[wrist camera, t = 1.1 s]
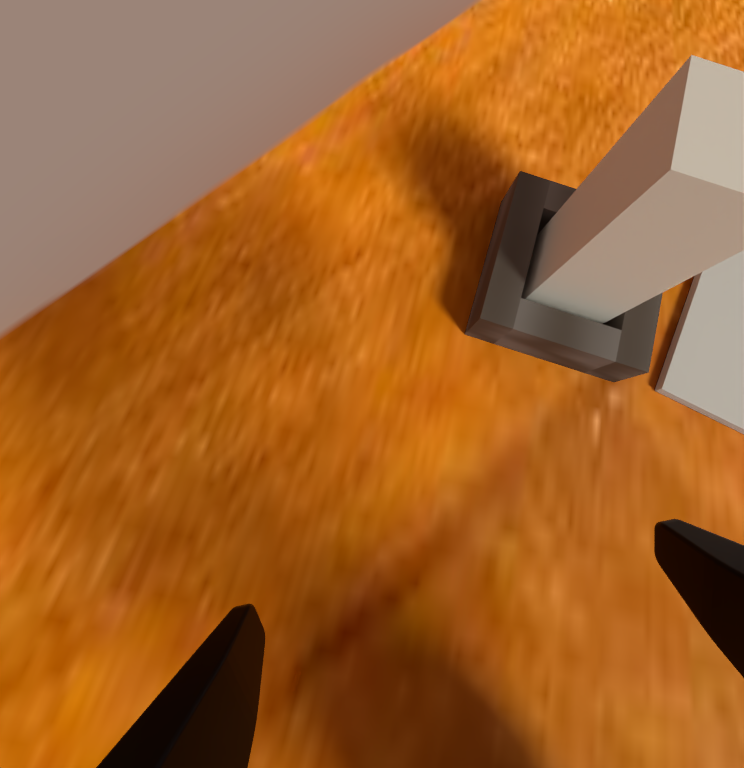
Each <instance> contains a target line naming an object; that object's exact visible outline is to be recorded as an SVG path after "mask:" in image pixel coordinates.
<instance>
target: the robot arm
mask: <svg viewBox="0 0 744 768" xmlns="http://www.w3.org/2000/svg"><path fill="white" fill-rule="evenodd" d="M655 557H656V559H657V561H658V563H659V565H660V566H661V568H662V569H663V571H664V572H665V574H666V575H667V577H668V578H669V579H670V581H671V582H672V584H673V585H674V587H675V588H676V589H677V591H678V592H679V594H680V595H681V597H682V598H683V599H684V601H685V602H686V604H687V605H688V607H689V608H690V610H691V611H692V612H693V614H694V615H695V617H696V618H697V620H698V621H699V622H700V624H701V625H702V627H703V628H704V629H705V631H706V632H707V633H708V635H709V636H710V637H711V639H712V640H713V641H714V642H715V644H716V645H717V646H718V647H719V649H720V650H721V651H722V652H723V653H724V655H725V656H726V657H727V658H728V659H729V661H730V662H731V663H732V664H733V665H734V667H735V668H736V669H737V670H738V671H739V673H740V674H741V675H742V676H743V678H744V545H741V544H739V543H736V542H734V541H731V540H729V539H726V538H724V537H721V536H719V535H716V534H714V533H711V532H709V531H706V530H704V529H701V528H699V527H696V526H694V525H691V524H689V523H686V522H684V521H681V520H678V519H672V520H667V521H662V522H658V523H657V524H656V525H655ZM264 647H265V632H264V628H263V626H262V623H261V621H260V619H259V616H258V614H257V612H256V609H255V607H254V606H253V605H252V604H246V605H241V606H236V607H234V608H233V609H232V610H231V611H230V612H229V613H228V614H227V615H226V617H225V618H224V619H223V620H222V621H221V622H220V624H219V625H218V626H217V627H216V628H215V629H214V631H213V632H212V633H211V634H210V635H209V636H208V638H207V639H206V640H205V641H204V642H203V643H202V645H201V646H200V647H199V648H198V649H197V650H196V652H195V653H194V654H193V655H192V656H191V657H190V659H189V660H188V661H187V662H186V663H185V664H184V666H183V667H182V668H181V669H180V670H179V672H178V673H177V674H176V675H175V676H174V677H173V679H172V680H171V681H170V682H169V683H168V684H167V686H166V687H165V688H164V689H163V690H162V691H161V693H160V694H159V695H158V696H157V697H156V698H155V700H154V701H153V702H152V703H151V704H150V705H149V707H148V708H147V709H146V710H145V711H144V712H143V714H142V715H141V716H140V717H139V718H138V719H137V721H136V722H135V723H134V724H133V725H132V726H131V728H130V729H129V730H128V731H127V732H126V733H125V735H124V736H123V737H122V738H121V739H120V741H119V742H118V743H117V744H116V745H115V746H114V748H113V749H112V750H111V751H110V752H109V753H108V755H107V756H106V757H105V758H104V759H103V760H102V762H101V763H100V764H99V765H98V766H97V767H96V768H247V767H248V762H249V757H250V752H251V747H252V742H253V737H254V731H255V726H256V720H257V712H258V704H259V694H260V685H261V675H262V666H263V656H264Z"/></svg>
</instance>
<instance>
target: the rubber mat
mask: <svg viewBox="0 0 744 768" xmlns="http://www.w3.org/2000/svg"><path fill="white" fill-rule="evenodd" d="M655 391H657V392H659V393H661V394H663V395H665V396H667V397H669V398H671V399H673V400H675V401H677V402H679V403H681V404H683V405H685V406H687V407H689V408H691V409H693V410H695V411H697V412H699V413H701V414H703V415H705V416H708V417H710V418H712V419H714V420H716V421H718V422H720V423H722V424H724V425H726V426H728V427H730V428H732V429H734V430H736V431H738V432H740V433H742V434H744V250H743V251H741V252H739V253H737V254H735V255H733V256H731V257H730V258H728V259H726V260H724V261H722V262H720V263H718V264H716V265H714V266H712V267H710V268H708V269H707V270H705V271H703V272H701V273H699V274H697V275H695V276H694V279H693V282H692V285H691V288H690V290H689V293H688V296H687V299H686V302H685V305H684V308H683V310H682V313H681V316H680V319H679V322H678V325H677V328H676V331H675V333H674V336H673V339H672V342H671V345H670V348H669V351H668V353H667V356H666V359H665V362H664V365H663V368H662V371H661V374H660V376H659V379H658V382H657V385H656V388H655Z"/></svg>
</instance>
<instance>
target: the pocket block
mask: <svg viewBox="0 0 744 768" xmlns="http://www.w3.org/2000/svg"><path fill="white" fill-rule="evenodd" d="M575 191H576V189H574V188H571V187H568V186H565V185H562V184H559V183H556V182H553V181H550V180H546V179H543V178H540V177H537V176H534V175H531V174H528V173H525V172H522V171H520V172H519V174H518V175H517V177H516V179H515V180H514V182H513V184H512V185H511V187H510V189H509V190H508V192H507V193H506V195H505V197H504V198H503V200H502V202H501V205H500V209H499V213H498V216H497V220H496V223H495V227H494V231H493V234H492V238H491V241H490V245H489V249H488V252H487V256H486V259H485V263H484V266H483V270H482V274H481V277H480V281H479V284H478V288H477V292H476V295H475V299H474V302H473V306H472V310H471V313H470V317H469V320H468V324H467V328H466V331H465V335H468V336H471V337H475V338H478V339H481V340H484V341H487V342H490V343H493V344H496V345H500V346H503V347H506V348H509V349H512V350H515V351H518V352H521V353H524V354H528V355H531V356H534V357H537V358H540V359H543V360H546V361H549V362H552V363H556V364H559V365H562V366H565V367H568V368H571V369H574V370H577V371H580V372H584V373H587V374H590V375H593V376H596V377H599V378H602V379H605V380H609V381H612V382H616V381H620V380H623V379H627V378H630V377H634V376H638V375H641V374H645V373H648V372H649V367H650V361H651V356H652V350H653V344H654V339H655V333H656V327H657V322H658V316H659V310H660V304H661V299H662V293H663V292H662V293H661V294H659V295H657V296H655V297H653V298H651V299H649V300H647V301H645V302H643V303H641V304H639V305H637V306H636V307H634V308H632V309H630V310H628V311H626V312H624V313H622V314H620V315H618V316H616V317H614V318H613V319H611V320H609V321H607V322H605V323H603V324H601V323H598V322H594V321H591V320H588V319H585V318H582V317H579V316H576V315H573V314H570V313H566V312H563V311H560V310H557V309H554V308H551V307H548V306H545V305H542V304H538V303H535V302H532V301H529V300H526V299H523V298H521V296H522V292H523V288H524V284H525V280H526V276H527V272H528V268H529V264H530V260H531V256H532V252H533V248H534V244H535V240H536V236H537V235H538V234H539V233H540V231H541V230H542V229H543V228H544V227H545V226H546V224H547V223H548V222H549V221H550V220H551V219H552V217H553V216H554V215H555V214H556V213H557V212H558V210H559V209H560V208H561V207H562V206H563V205H564V203H565V202H566V201H567V200H568V199H569V198H570V196H571V195H572V194H573V193H574V192H575Z"/></svg>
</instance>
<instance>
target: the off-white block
mask: <svg viewBox="0 0 744 768" xmlns="http://www.w3.org/2000/svg"><path fill="white" fill-rule="evenodd" d="M743 250H744V72H742V71H739V70H736V69H733V68H730V67H727V66H724V65H721V64H718V63H715V62H712V61H709V60H705V59H702V58H699V57H696V56H693V55H691V56H690V57H689V59H688V60H687V61H686V62H685V63H684V64H683V66H682V67H681V68H680V69H679V70H678V71H677V73H676V74H675V75H674V76H673V77H672V78H671V80H670V81H669V82H668V83H667V84H666V85H665V87H664V88H663V89H662V90H661V91H660V92H659V94H658V95H657V96H656V97H655V98H654V99H653V101H652V102H651V103H650V104H649V105H648V106H647V108H646V109H645V110H644V111H643V112H642V113H641V115H640V116H639V117H638V118H637V119H636V120H635V122H634V123H633V124H632V125H631V126H630V127H629V129H628V130H627V131H626V132H625V133H624V134H623V136H622V137H621V138H620V139H619V140H618V141H617V143H616V144H615V145H614V146H613V147H612V149H611V150H610V151H609V152H608V153H607V154H606V156H605V157H604V158H603V159H602V160H601V161H600V163H599V164H598V165H597V166H596V167H595V168H594V170H593V171H592V172H591V173H590V174H589V175H588V177H587V178H586V179H585V180H584V181H583V182H582V184H581V185H580V186H579V187H578V188H577V189H576V191H575V192H574V193H573V194H572V195H571V196H570V198H569V199H568V200H567V201H566V202H565V203H564V205H563V206H562V207H561V208H560V209H559V210H558V212H557V213H556V214H555V215H554V216H553V217H552V219H551V220H550V221H549V222H548V223H547V224H546V226H545V227H544V228H543V229H542V230H541V231H540V233H539V234H538V235H537V236H536V240H535V244H534V248H533V252H532V256H531V260H530V264H529V268H528V272H527V276H526V280H525V284H524V288H523V292H522V296H521V298H523V299H526V300H529V301H532V302H535V303H538V304H542V305H545V306H548V307H551V308H554V309H557V310H560V311H563V312H566V313H570V314H573V315H576V316H579V317H582V318H585V319H588V320H591V321H594V322H598V323H601V324H603V323H605V322H607V321H609V320H611V319H613V318H614V317H616V316H618V315H620V314H622V313H624V312H626V311H628V310H630V309H632V308H634V307H636V306H637V305H639V304H641V303H643V302H645V301H647V300H649V299H651V298H653V297H655V296H657V295H659V294H661V293H662V292H664V291H666V290H668V289H670V288H672V287H674V286H676V285H678V284H680V283H682V282H684V281H685V280H687V279H689V278H691V277H693V276H695V275H697V274H699V273H701V272H703V271H705V270H707V269H708V268H710V267H712V266H714V265H716V264H718V263H720V262H722V261H724V260H726V259H728V258H730V257H731V256H733V255H735V254H737V253H739V252H741V251H743Z"/></svg>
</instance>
